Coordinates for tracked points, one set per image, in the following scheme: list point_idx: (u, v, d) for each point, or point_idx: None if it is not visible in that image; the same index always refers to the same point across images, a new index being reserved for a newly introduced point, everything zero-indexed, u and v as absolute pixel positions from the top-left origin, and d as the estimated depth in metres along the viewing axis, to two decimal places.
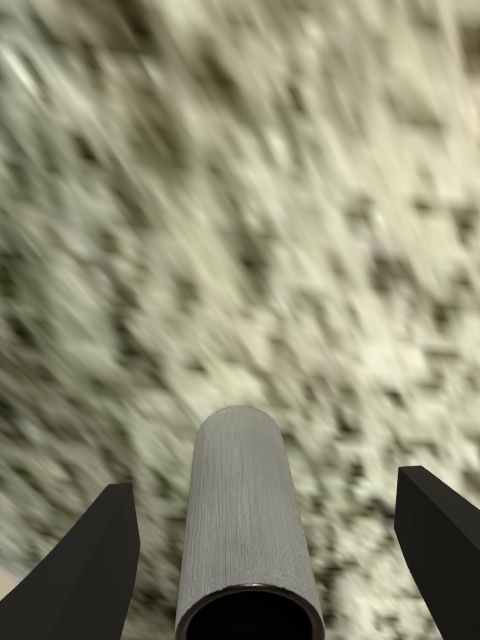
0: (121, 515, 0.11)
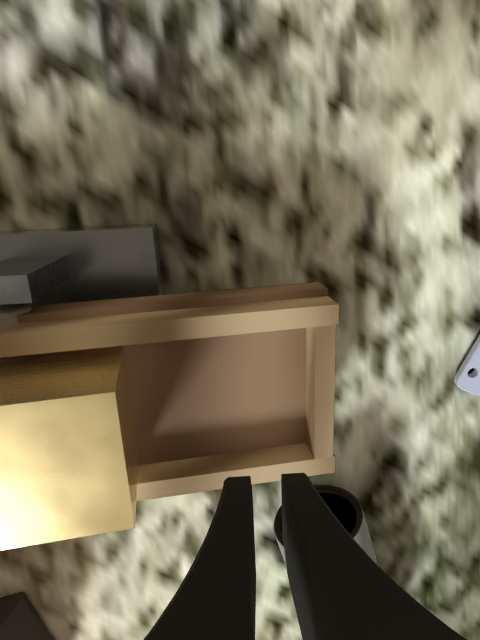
0: (252, 507, 0.11)
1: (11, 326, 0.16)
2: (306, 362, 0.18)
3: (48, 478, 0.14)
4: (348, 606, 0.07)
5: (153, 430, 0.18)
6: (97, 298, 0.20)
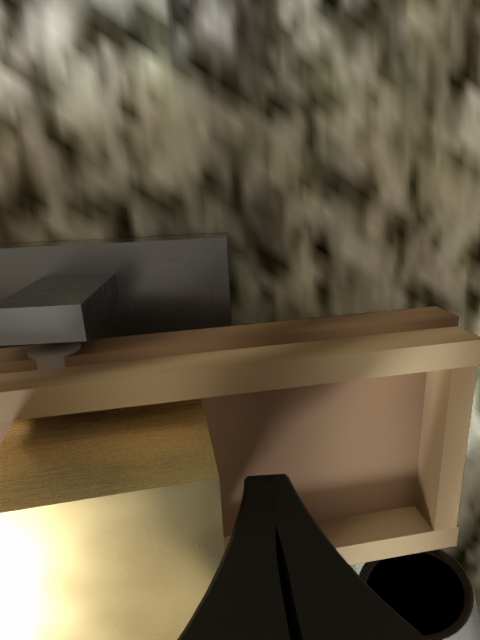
0: None
1: (57, 372, 0.12)
2: (425, 408, 0.14)
3: (121, 595, 0.10)
4: (317, 608, 0.07)
5: (231, 496, 0.14)
6: (153, 325, 0.16)
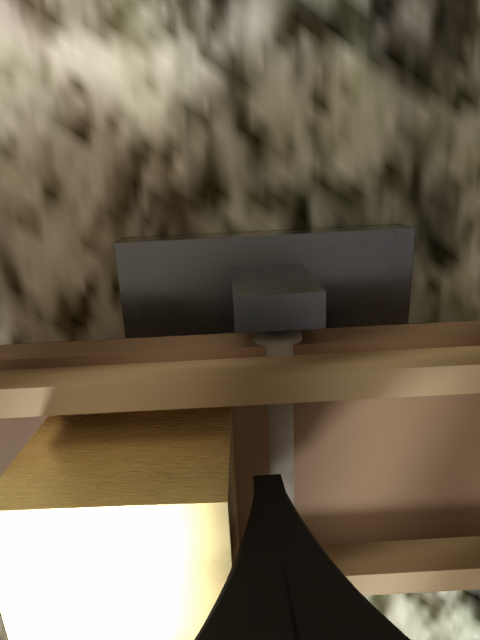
0: None
1: (289, 360, 0.12)
2: None
3: (125, 607, 0.10)
4: (302, 609, 0.07)
5: (432, 498, 0.14)
6: (332, 316, 0.16)
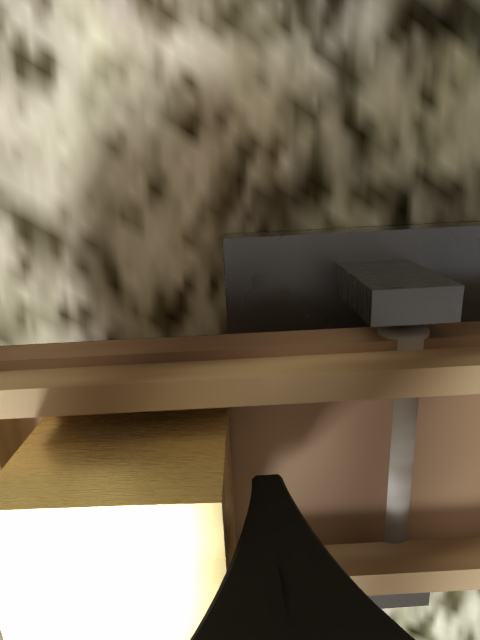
0: None
1: (423, 354, 0.12)
2: None
3: (119, 607, 0.10)
4: (306, 609, 0.07)
5: None
6: None
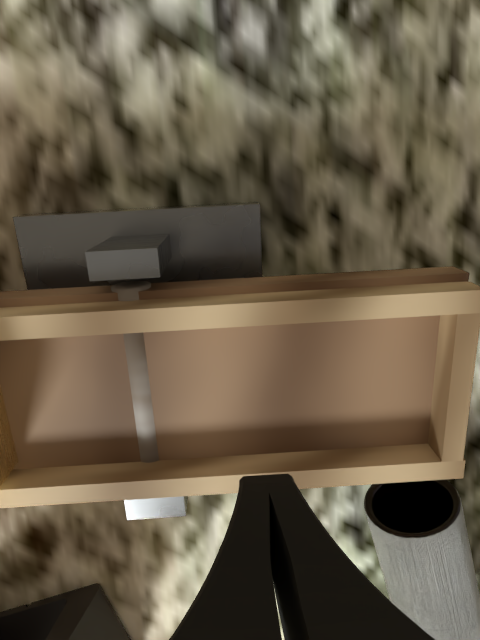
0: (269, 506, 0.11)
1: (133, 302, 0.15)
2: (437, 354, 0.17)
3: None
4: (323, 608, 0.07)
5: (266, 419, 0.17)
6: (199, 277, 0.19)
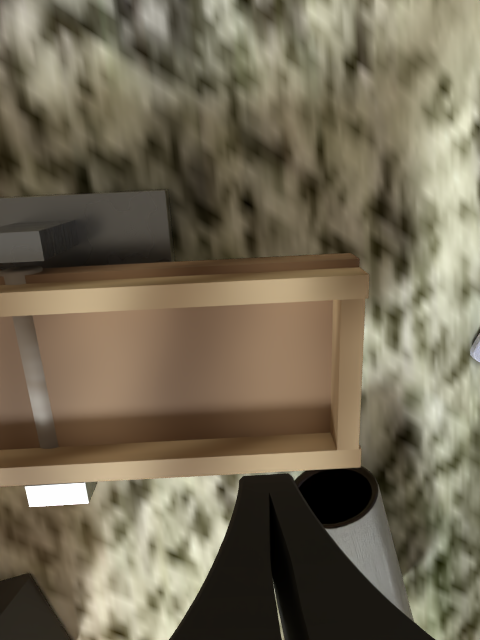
0: (269, 506, 0.11)
1: (17, 286, 0.15)
2: (332, 341, 0.16)
3: None
4: (323, 608, 0.07)
5: (163, 406, 0.17)
6: None
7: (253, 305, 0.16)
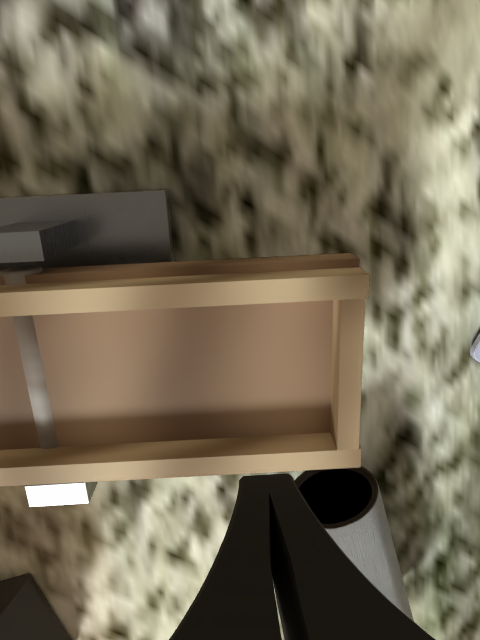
0: (269, 506, 0.11)
1: (17, 286, 0.15)
2: (332, 341, 0.16)
3: None
4: (323, 608, 0.07)
5: (163, 406, 0.17)
6: None
7: (253, 305, 0.16)
